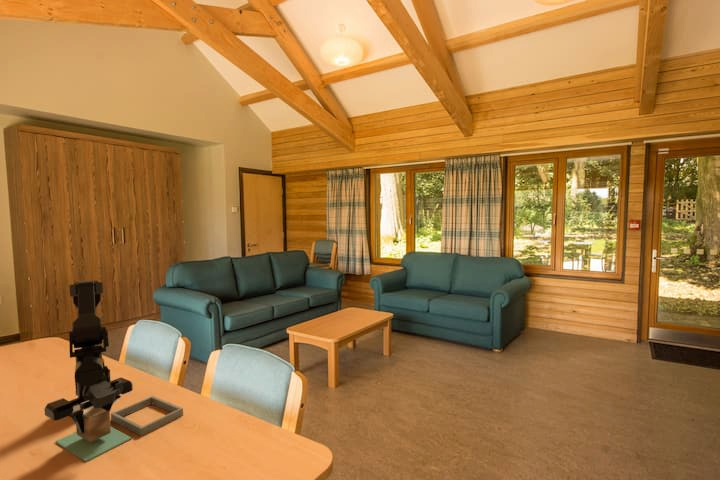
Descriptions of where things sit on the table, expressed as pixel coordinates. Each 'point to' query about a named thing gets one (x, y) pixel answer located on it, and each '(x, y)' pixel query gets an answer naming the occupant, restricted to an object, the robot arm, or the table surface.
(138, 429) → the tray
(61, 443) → the mat
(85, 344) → the robot arm
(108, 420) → the walnut block
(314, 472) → the table surface
